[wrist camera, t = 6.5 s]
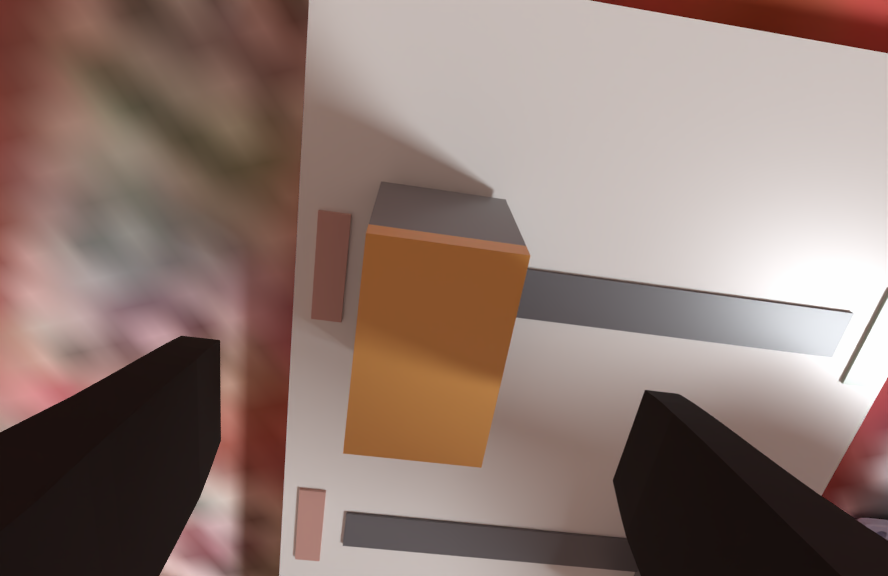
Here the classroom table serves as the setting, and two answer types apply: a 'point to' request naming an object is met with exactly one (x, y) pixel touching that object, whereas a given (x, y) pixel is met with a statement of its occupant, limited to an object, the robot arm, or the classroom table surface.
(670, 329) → the breaker panel
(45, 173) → the classroom table surface
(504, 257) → the lever
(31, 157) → the classroom table surface
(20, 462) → the robot arm
